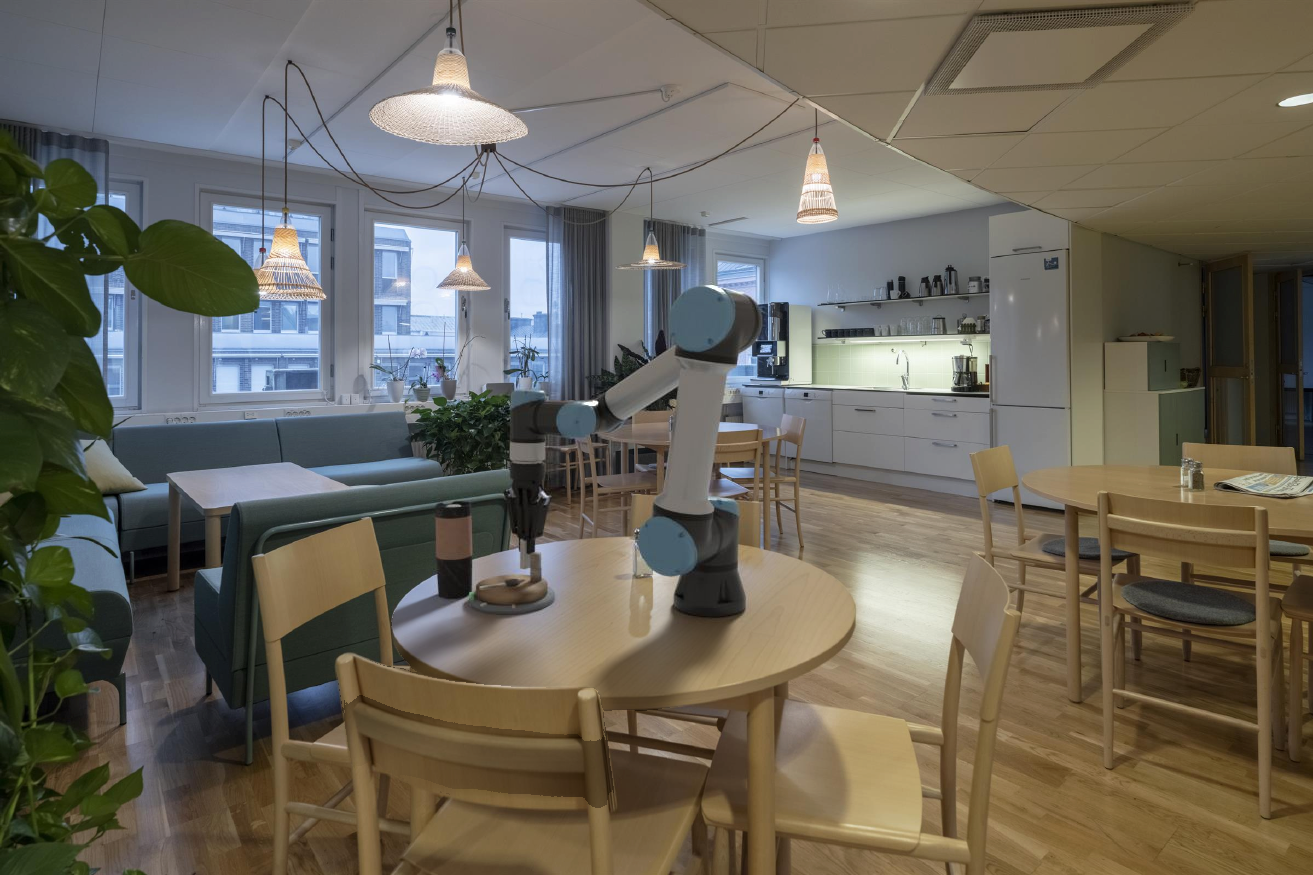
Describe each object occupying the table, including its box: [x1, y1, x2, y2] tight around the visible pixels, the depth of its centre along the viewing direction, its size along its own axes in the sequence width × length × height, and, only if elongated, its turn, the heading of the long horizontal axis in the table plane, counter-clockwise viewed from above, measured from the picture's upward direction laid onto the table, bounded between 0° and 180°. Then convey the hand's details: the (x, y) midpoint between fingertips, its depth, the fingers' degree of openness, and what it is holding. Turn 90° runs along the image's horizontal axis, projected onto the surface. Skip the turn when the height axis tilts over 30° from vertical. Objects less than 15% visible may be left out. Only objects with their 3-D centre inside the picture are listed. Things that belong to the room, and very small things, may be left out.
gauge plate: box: [468, 586, 556, 615], centre depth 157 cm, size 18×18×2 cm
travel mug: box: [434, 500, 473, 600], centre depth 160 cm, size 8×8×20 cm
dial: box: [475, 551, 549, 605], centre depth 156 cm, size 15×15×8 cm
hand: (526, 567), depth 161 cm, fingers closed
